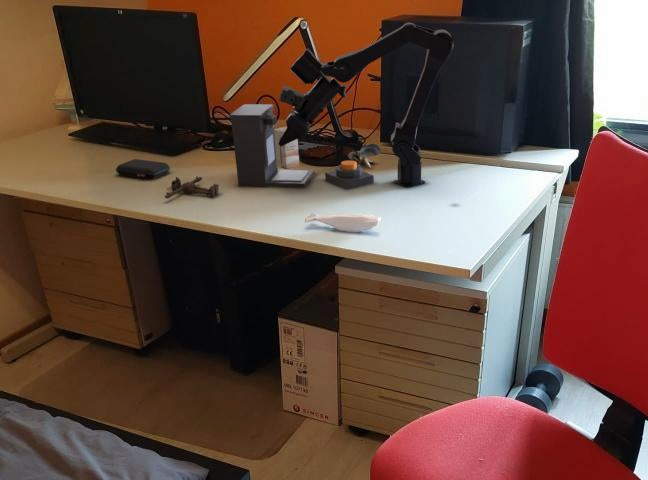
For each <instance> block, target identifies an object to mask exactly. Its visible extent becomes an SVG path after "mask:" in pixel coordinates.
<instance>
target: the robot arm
mask: <svg viewBox="0 0 648 480" xmlns="http://www.w3.org/2000/svg"><path fill="white" fill-rule="evenodd" d="M407 43H411V44H414V45H416V46H419V47H422V48H424V49H426V55H425V61H424V66H423V69H422V72H421V74H420V77H419V80H418V83H417V85H416V88H415V90H414V93H413V96H412V99H411V100H410V104H409V107H408V109H407V112H406V114H405V117H404V119H403V120H402V122H401V123H399V122H395V127H394V131H393V133H392V134H391V135H390V143H391V150H392V153H393V155H394V156H395V157H397V158H398V160H397V161H398V162H397V179H394V180H393V183H394V184H396V185H400V186H402V187H405V188H413V187H416V186H419V185H424V184H426V181H425V180H423V179H422V161H421V160H422V154H421V148H420V147H419V145H417V144H416V138H417V131H418V126H419V123H420V120H421V118H422V116H423V113H424V111H425V107H426V105H427V102H428V100H429V97H430V94H431V92H432V89H433V87H434V84H435V81H436V79H437V76H438V74H439V72H440V70H441V69H442V68H443V66H444V65H445V63H446V62H447V60H448V58H449V57H450V56H451V53H452V51H453V49H454V40H453V38H452V35H451V34H450V32H449V31H447V30H446V29H437V30H433V29H431V28H427V27H424V26H420V25H417V24H414V23H413V22H409V21H408V22H405V23H404V24H403V25H402V26H401V27H398V28H397V29H395V30H394V31H391V32H390V33H388V34H387V35H385V36H382V37H381V38H379V39H377V40H376V41H374V42H372V43H370V44H368V45H367V46H365V47H363V48H360V49H357V50H353V51H350V52H347V53H344V54H342V55H339V56H338V57H336V59H335V60H332V61H326V62H321V61H320V60H319V59H318V57H316V56H315V55H314V54H313V52H312V51H311V50H310V49H309V48H306V49H305V51H304V52H303V53H302V54H301V56H299V57H298V58H297V59H296V61H295V62H294V63H293V64H292V65H291V66H290V68H289V71H291V72H292V74H294V75H295V76H296V77H297V78H298V79H299V80H300V81H301V82H302V83H303V84H304V85H305V86H307V85H313V84H314V83H315V82H316V80H318V81H317V82H316V83H315V84H314V85H313V86H312V88H311V89H310V90H309V91H306V92H305V93H302V92H300V91H298V90H296V89H294V88H291V87H289V86H287V85H284V86H283V87H282V88H281V92H280V95H279V98H278V101H279V102H280V103H283V104H284V103H285V104H288V105H289V106H291V107H292V109H291V110H290V114H289V115H288V116H287V118H286V119H285V123H286V126H287V129H286V131H285V132H284V134H283V136H282V138H281V139H280V141H279V143H278V144H279V145H280V146H283V145H285V144H288V143H290V142H292V141H294V140H296V139H298V140H299V139H301V138H305V137H306V136H307V135H308V134H309V132H310V130H311V128H310V126H312V125H313V124H314V123H315V120H317V118H318V117H319V116H320V114H322V113H324V111H325V109H326V108H327V107H328V106H329V104H330V103H331V102H332V101H333V100H334V98H335V97H336V96H337V95H338V94H339V96H341V98H343V99H344V98H346V94H347V93H346V88H347V85H346V84H343V83H348V82H350V81H351V80H353V79H354V78H355V77H356V76H357V75H359V73H360V72H362V71H363V70H364V69H365V68H367V66H368V65H370V64H371V63H374V62H375V61H377V60H379V59H381V58H382V57H384V56H386V55H388V54H389V53H392V52H393V51H395V50H397V49H398V48H400V47H403V46H405V44H407ZM319 77H320V79H318V78H319ZM341 83H342V84H341Z"/></svg>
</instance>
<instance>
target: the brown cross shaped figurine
mask: <svg viewBox="0 0 648 480" xmlns="http://www.w3.org/2000/svg"><path fill="white" fill-rule="evenodd" d="M202 180H203V177H202V176H198V175H197V176H196V177H195V179H193V180H191V181H190V182H189V181H187V182H184V183H182V182H181V179H180V177H177V176H176V177H175V180H172V181H171V186H168V187H166V190H168V191H169V190H171V192H166V195H164V198H165V199H170V198H172V197H173V196H175V195H177V194H179V193H187V194H193V193H195V194H199V195H204V196H207V197H211V198H214V197H215V196H217V195H219V187H220V186H219V184H218V183H214V184H213V185H210V187H209V188H206V187H202V186H196V184H197V183H199V182H201V181H202Z"/></svg>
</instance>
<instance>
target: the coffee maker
mask: <svg viewBox="0 0 648 480" xmlns="http://www.w3.org/2000/svg"><path fill="white" fill-rule="evenodd" d="M274 109H275V107H274V104H272V103H271V104H270V103H269V104H268V103H267V104H263V103H262V104H259V103H258V104H257V103H256V104H254V103H250V104H249V103H244V104H243V105H241V106H240V107H238V108H236V110H234V111H232V112H231V113H230V114H229V116H228V117H229V120H230V121H231V131H232V139H233V140H232V141H233V148H234V149H233V150H234V157H235V158H234V159H235V164H236V166H235V167H236V175H237V183H238V187H259V188H260V187H261V188H299V189H300V188H301V189H305V188H306V187H307V185H308V184H309V182H310V181H311V180H312V178H313V177H314V175H315V169H284V168H279V167H277V166H276V152H275V137H274V129H275V124H276V123H277V122H278V119H277V115H274ZM278 168H279V169H278Z"/></svg>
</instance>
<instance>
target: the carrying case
mask: <svg viewBox="0 0 648 480" xmlns="http://www.w3.org/2000/svg"><path fill="white" fill-rule="evenodd" d="M115 168H116V169H115V172H116V173H117V174H118V175H119V176H125V177H132V178H137V179H139V178H140V179H147V180H153V179H156V178H159V177H161V176H164V175H165V174H168V173H169V172H170V170H171V166H170V165H169V164H168V163H166V162H162V161H154V160H147V159H139V158H138V159H137V158H133V159H130V160H128V161H126V162H123V163H120V164H118V165H117V166H116V167H115Z"/></svg>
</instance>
